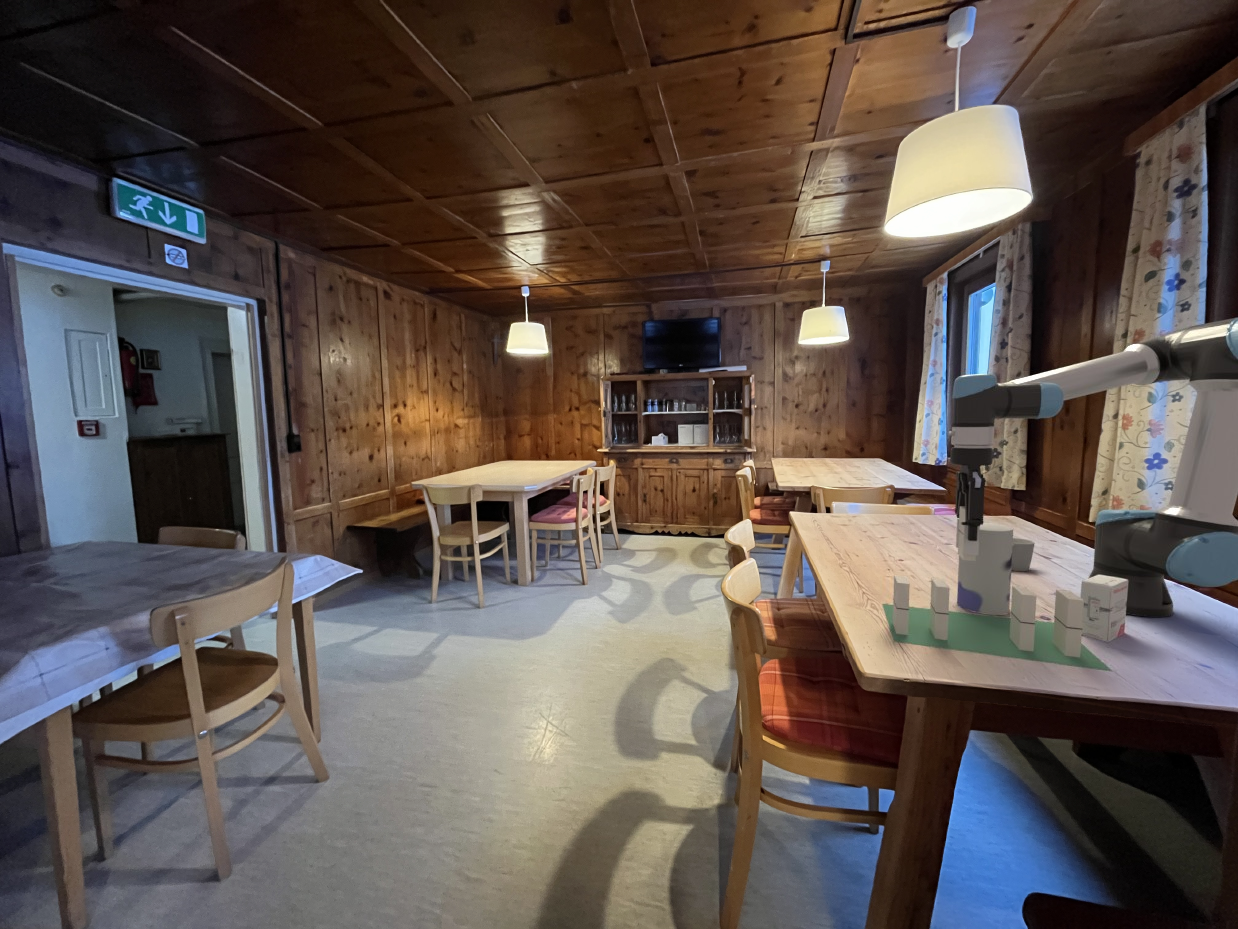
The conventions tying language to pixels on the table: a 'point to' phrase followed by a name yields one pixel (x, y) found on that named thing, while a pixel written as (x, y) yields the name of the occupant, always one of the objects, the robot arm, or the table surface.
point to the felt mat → (988, 638)
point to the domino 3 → (960, 536)
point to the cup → (1022, 554)
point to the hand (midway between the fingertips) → (966, 550)
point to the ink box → (1104, 607)
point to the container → (988, 572)
